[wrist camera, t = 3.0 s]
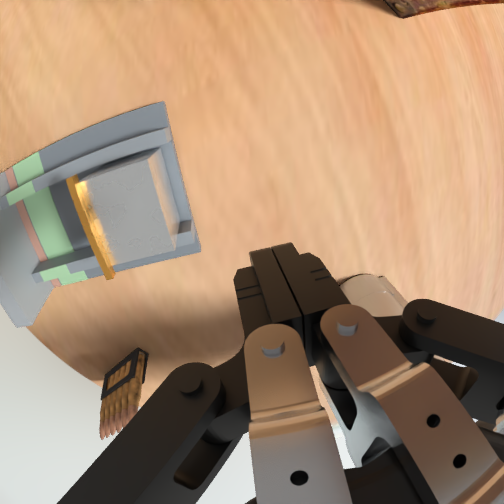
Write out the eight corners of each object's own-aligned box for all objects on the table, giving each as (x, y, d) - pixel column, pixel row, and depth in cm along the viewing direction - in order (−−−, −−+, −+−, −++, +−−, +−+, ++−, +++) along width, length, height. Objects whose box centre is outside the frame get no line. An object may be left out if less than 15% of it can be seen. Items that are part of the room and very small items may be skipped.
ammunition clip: (114, 380, 38) (105, 443, 27) (104, 374, 37) (93, 438, 26) (148, 353, 35) (142, 427, 25) (138, 347, 34) (128, 422, 24)
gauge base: (164, 101, 21) (147, 98, 14) (200, 246, 29) (201, 293, 22) (-5, 178, 20) (-47, 203, 13) (42, 285, 27) (16, 327, 20)
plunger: (159, 139, 21) (142, 151, 15) (182, 226, 26) (177, 263, 20) (98, 160, 21) (65, 179, 15) (125, 240, 25) (106, 280, 19)
